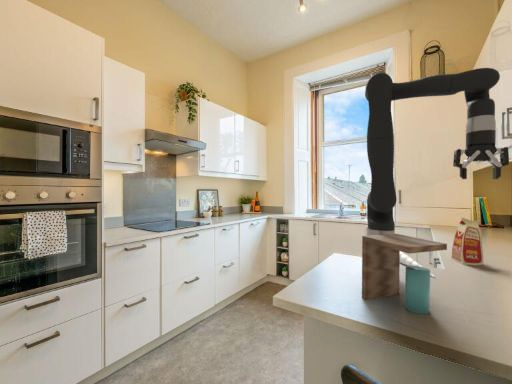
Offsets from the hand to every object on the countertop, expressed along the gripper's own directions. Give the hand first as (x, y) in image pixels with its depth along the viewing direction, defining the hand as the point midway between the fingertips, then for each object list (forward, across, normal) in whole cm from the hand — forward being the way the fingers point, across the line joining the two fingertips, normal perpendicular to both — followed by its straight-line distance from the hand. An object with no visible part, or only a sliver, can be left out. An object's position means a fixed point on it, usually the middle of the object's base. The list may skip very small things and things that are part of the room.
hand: (479, 179), depth 85 cm
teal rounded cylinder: (+36, -24, -28) cm, 51 cm away
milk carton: (+36, +8, +33) cm, 50 cm away
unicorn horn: (+37, -16, +14) cm, 43 cm away
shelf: (+36, -27, -28) cm, 53 cm away
